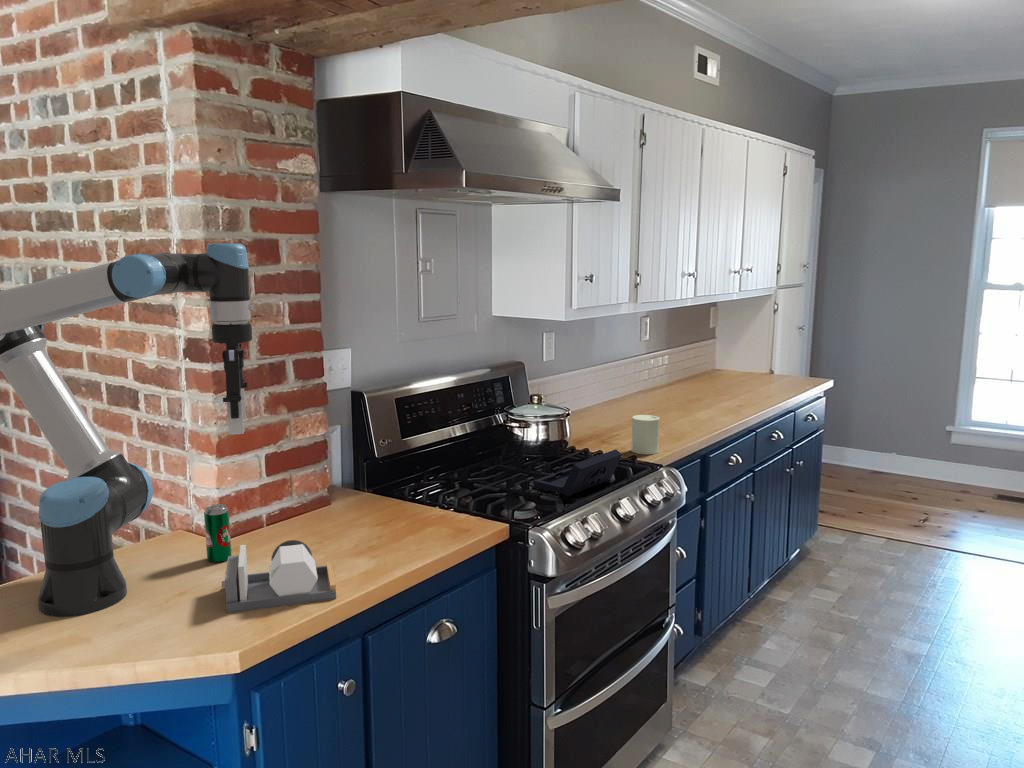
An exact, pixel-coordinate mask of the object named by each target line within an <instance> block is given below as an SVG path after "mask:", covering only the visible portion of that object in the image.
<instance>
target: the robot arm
mask: <svg viewBox="0 0 1024 768" xmlns="http://www.w3.org/2000/svg"><path fill="white" fill-rule="evenodd" d="M249 269H250V266H249V261H248V253H247V248H246V246H245V245H244V244H242V243H208V244H207V245H206V251H205V252H204V253H170V252H164V253H163V252H160V253H152V254H151V253H150V254H149V253H139V252H138V253H133V254H129V255H125V256H123V257H121V258H120V259H118V260H116V261H111V262H107V263H104V264H99V265H96V266H92V267H88V268H84V269H81V270H77V271H73V272H70V273H69V272H68V273H66V274H61V275H58V276H54V277H49V278H46V279H43V280H42V279H41V280H39V281H38V280H37V281H35V282H32V283H28V284H24V285H19V286H16V287H11V288H8V289H0V372H2V375H4V377H5V378H6V380H7V382H8V383H9V385H10V386H11V388H12V389H13V391H14V392H15V394H16V395H17V396H18V399H20V401H21V403H22V404H23V406H24V407H25V409H26V410H27V411H28V413H29V415H30V416H31V418H32V419H33V421H34V422H35V424H37V425H36V426H38V428H39V430H40V431H41V432H42V434H43V436H44V437H45V439H46V440H47V442H48V443H49V444H50V446H51V447H52V449H53V450H54V452H55V453H56V455H57V457H58V459H60V461H61V462H62V464H63V465H64V467H65V468H66V470H67V471H68V472H67V473H68V474H67V477H66V480H61V481H59V482H56V483H54V484H52V485H50V486H49V487H47V488H45V490H43V492H42V493H41V494H40V496H39V499H38V519H39V522H40V528H41V529H40V530H41V531H40V532H41V538H42V548H43V556H44V564H45V568H44V569H45V571H44V575H43V579H42V583H41V587H40V590H39V593H38V599H37V600H38V601H37V602H38V611H39V613H41V614H42V615H44V616H48V617H54V618H70V617H78V616H79V617H80V616H85V615H89V614H93V613H97V612H100V611H103V610H106V609H108V608H111V607H113V606H115V605H117V604H118V603H120V602H121V601H123V599H125V598H126V596H127V595H128V588H127V581H126V579H125V578H124V575H123V573H122V571H121V569H120V567H119V565H118V563H117V562H116V559H115V555H114V545H113V536H112V535H113V534H114V533H115V532H118V530H120V529H122V528H123V527H124V526H126V525H128V524H129V523H131V522H132V521H134V520H136V519H138V518H139V517H140V516H141V515H142V513H144V512H145V511H146V509H148V507H150V504H151V502H152V499H153V494H154V489H153V488H154V487H153V482H152V479H151V477H150V475H149V473H148V472H147V471H146V470H145V469H144V468H142V467H141V466H140V465H137V464H134V463H132V462H128V461H127V459H126V458H125V457H124V454H123V453H122V452H120V451H116V450H112V449H111V448H109V447H108V445H107V444H106V441H104V439H103V437H102V436H101V434H100V432H98V430H97V429H96V426H95V425H94V424H93V423H92V421H91V420H90V418H89V416H88V415H87V413H86V412H85V410H84V409H83V407H82V406H81V404H80V402H79V401H78V400H77V398H76V396H75V395H74V394H73V391H72V390H71V388H69V387H70V386H68V384H67V383H66V381H65V380H64V378H63V376H62V375H61V373H60V372H59V371H58V369H57V367H56V366H55V364H54V363H53V361H52V360H51V358H50V357H49V355H48V354H47V352H46V349H45V348H46V346H47V343H48V339H47V337H46V336H45V334H44V333H43V331H44V324H48V323H52V322H55V321H60V320H64V319H66V318H67V319H68V318H71V317H75V316H79V315H83V314H87V313H90V312H94V311H97V310H102V309H107V308H109V307H113V306H117V305H121V304H124V303H125V304H126V303H128V302H129V303H130V302H133V301H137V300H140V299H145V298H149V297H154V296H160V295H167V294H176V293H207V292H208V294H209V308H210V309H209V311H210V314H209V315H210V321H212V322H214V323H212V324H211V338H212V340H211V341H212V342H214V343H215V344H225V346H226V347H225V350H223V351H222V353H221V354H222V357H221V358H222V361H223V369H224V373H225V387H226V388H225V391H226V393H225V394H226V395H225V397H222V401H223V403H226V407H227V408H226V409H227V422H228V423H227V425H228V436H230V435H233V436H234V435H244V433H245V430H244V420H246V419H247V416H246V414H247V413H246V398H245V397H246V396H245V389H247V388H248V382H245V379H244V370H243V369H244V367H245V364H244V361H245V350H244V349H242V344H245V343H249V342H251V341H252V340H253V330H252V329H253V326H252V324H251V322H248V321H250V320H251V319H252V317H251V316H252V314H251V310H254V309H255V307H254V304H250V302H251V301H250V299H251V297H250V274H249V272H250V270H249Z"/></svg>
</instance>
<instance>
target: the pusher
mask: <svg viewBox="0 0 1024 768" xmlns="http://www.w3.org/2000/svg"><path fill="white" fill-rule="evenodd" d="M247 559H248V558H247V545H246V544H240V545H239V564H238V572H239V580H238V586H239V588H240V601H247V590H248V560H247ZM221 588H222V589H223V588H224V589H225V580H222V581H221Z"/></svg>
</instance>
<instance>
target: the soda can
mask: <svg viewBox="0 0 1024 768" xmlns="http://www.w3.org/2000/svg"><path fill="white" fill-rule="evenodd" d="M203 516H204V517H203V518H204V519H203V520H204V521H203V522H204V531H205V548H206V559H207V561H209V562H210V563H213V564H214V563H215V564H216V563H217V564H220V562H221V563H224V561H225V562H227V561H228V556H233V555H232V542H231V541H232V540H231V527H230V512H229V509H228V508H227V504H223V503H215V504H210V505H208V506H206V507H205V510H204V512H203Z"/></svg>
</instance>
